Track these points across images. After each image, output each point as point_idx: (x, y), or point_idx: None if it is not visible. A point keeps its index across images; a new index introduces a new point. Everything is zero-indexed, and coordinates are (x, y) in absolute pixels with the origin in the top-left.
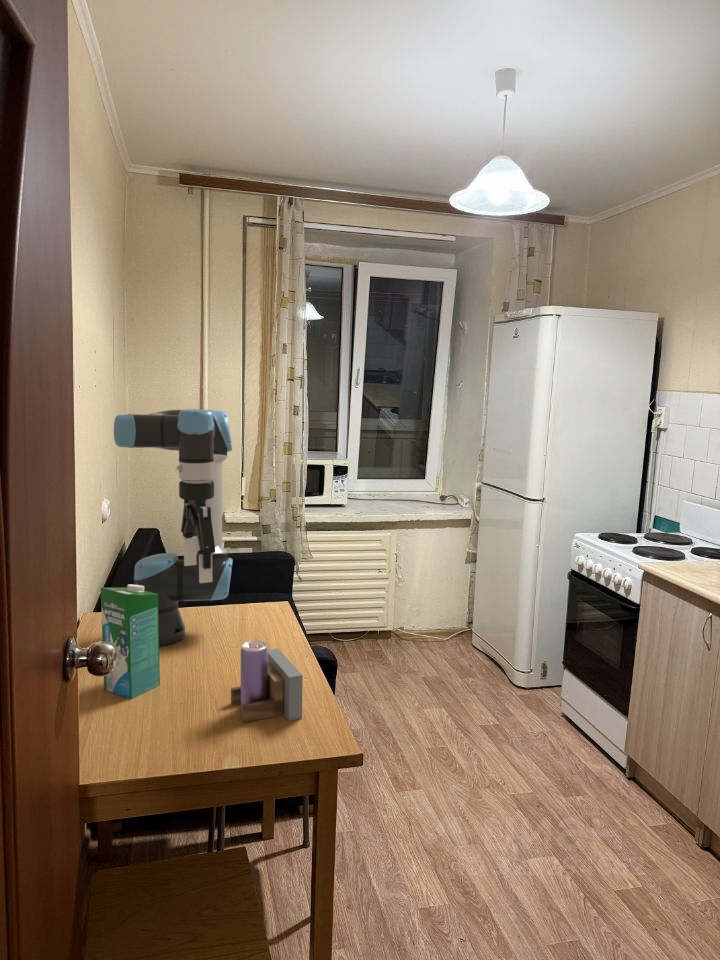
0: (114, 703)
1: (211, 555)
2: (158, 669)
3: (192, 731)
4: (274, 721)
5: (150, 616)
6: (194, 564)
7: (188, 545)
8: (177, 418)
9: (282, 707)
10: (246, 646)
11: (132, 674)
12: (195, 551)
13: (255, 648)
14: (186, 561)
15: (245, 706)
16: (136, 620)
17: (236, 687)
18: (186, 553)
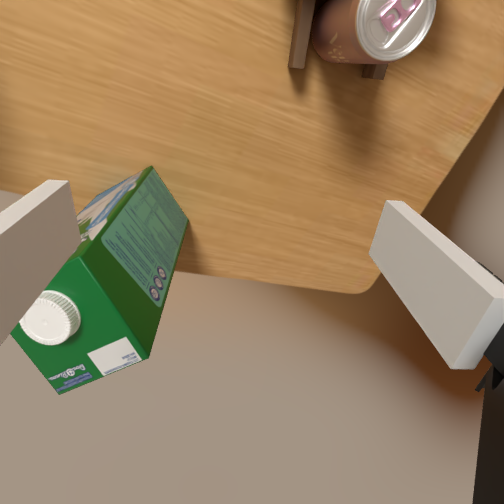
0: (192, 241)
1: (501, 290)
2: (146, 177)
3: (339, 167)
4: None
5: (123, 249)
6: (70, 193)
7: (10, 298)
8: None
9: None
10: (373, 37)
11: (180, 235)
12: (25, 222)
13: (414, 21)
14: (69, 246)
15: (383, 74)
16: (151, 285)
17: (296, 53)
18: (45, 274)
